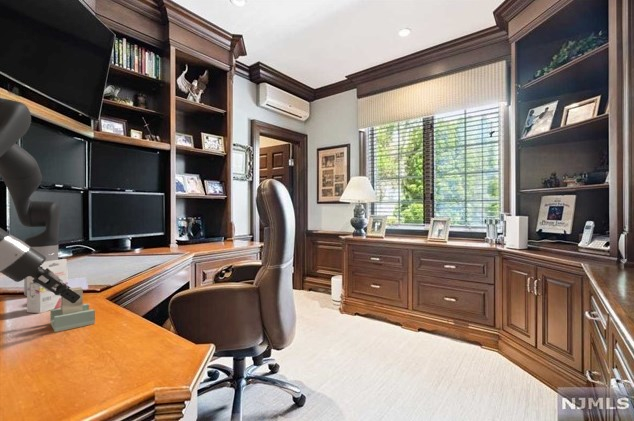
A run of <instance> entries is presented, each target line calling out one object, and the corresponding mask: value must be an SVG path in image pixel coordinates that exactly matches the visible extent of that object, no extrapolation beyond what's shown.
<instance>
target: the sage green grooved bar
mask: <svg viewBox="0 0 634 421" xmlns="http://www.w3.org/2000/svg"><path fill="white" fill-rule="evenodd" d="M49 311H50V314H49V315H50V318H49V319H50V322H49V323H50V325H51V327H52V329H53V331H54V332H55V333H58V332H62V331H66V330H71V329H76V328H81V327H86V326H91V325H94V324H95V325H96V310H95V309H92V308H91V309H90V304H89V303H88V302H87V303H83V311H81V312H75V313H70V314H64V315H61V307H59V308H56V309H52V310H49Z"/></svg>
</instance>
